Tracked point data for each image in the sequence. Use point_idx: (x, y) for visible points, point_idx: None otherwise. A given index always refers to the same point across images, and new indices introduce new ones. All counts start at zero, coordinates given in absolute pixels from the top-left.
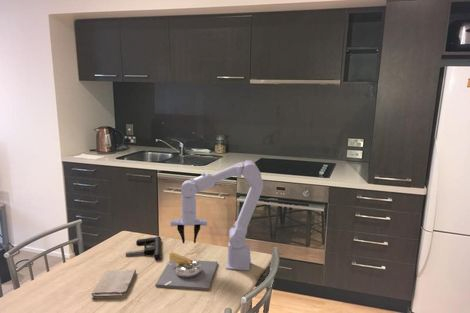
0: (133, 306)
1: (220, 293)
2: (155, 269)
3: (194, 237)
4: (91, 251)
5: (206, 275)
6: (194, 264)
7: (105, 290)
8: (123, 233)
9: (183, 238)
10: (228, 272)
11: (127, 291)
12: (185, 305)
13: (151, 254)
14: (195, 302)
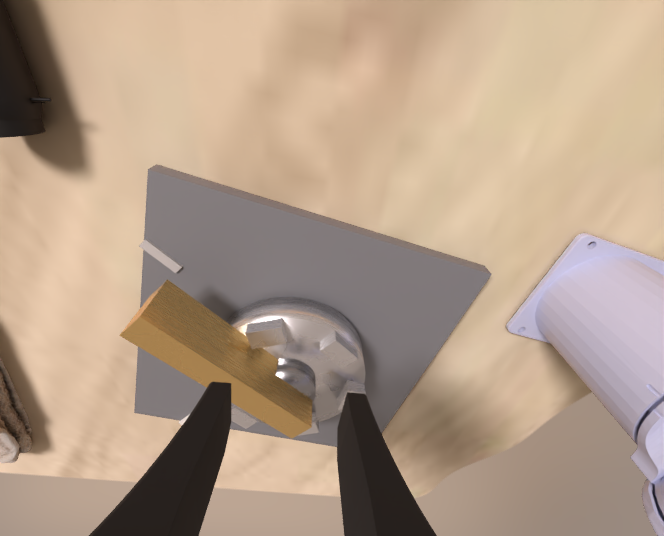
0: (98, 473)
1: (403, 455)
2: (78, 264)
3: (348, 520)
4: None
5: (379, 387)
6: (327, 362)
7: None
8: None
9: (204, 499)
10: (499, 351)
11: (23, 414)
12: (275, 484)
13: None
14: (308, 477)
